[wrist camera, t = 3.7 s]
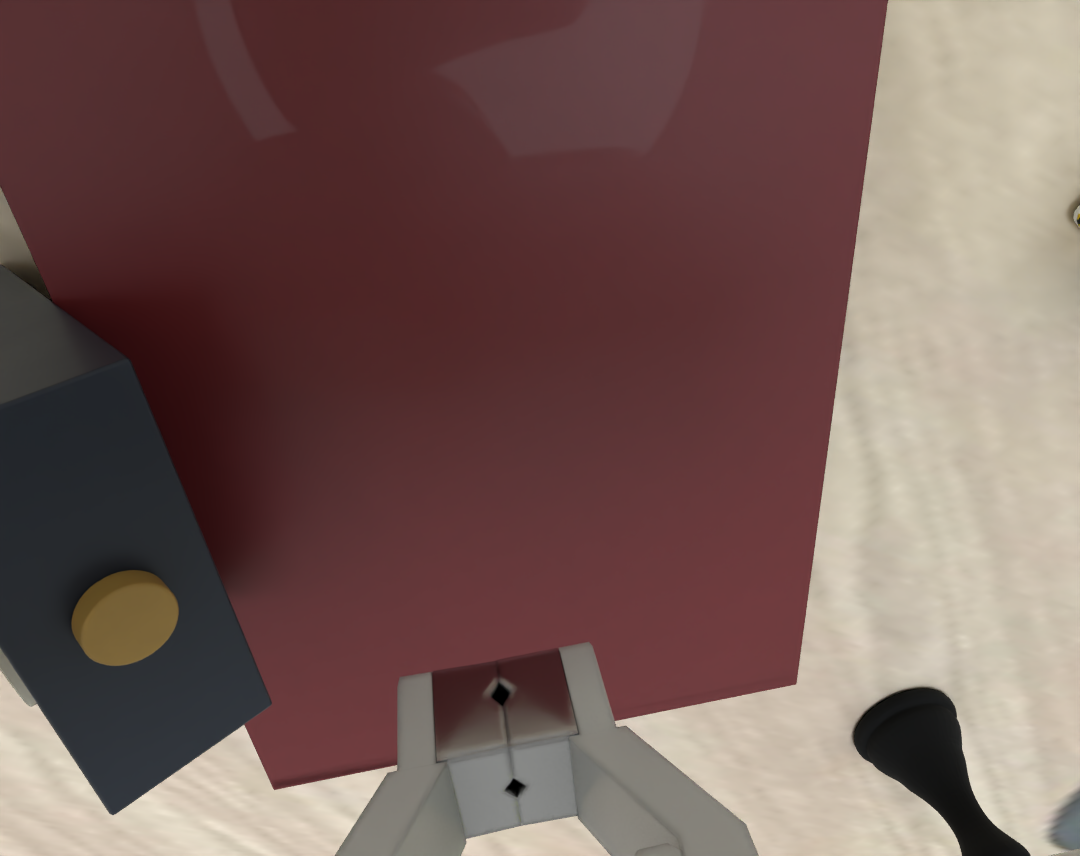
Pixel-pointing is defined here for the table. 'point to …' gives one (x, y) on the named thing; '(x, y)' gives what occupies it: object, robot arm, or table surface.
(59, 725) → the alarm clock
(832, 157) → the burgundy book
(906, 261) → the table surface
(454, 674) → the robot arm
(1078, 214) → the medicine bottle
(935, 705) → the chess piece
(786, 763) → the table surface
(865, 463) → the table surface
